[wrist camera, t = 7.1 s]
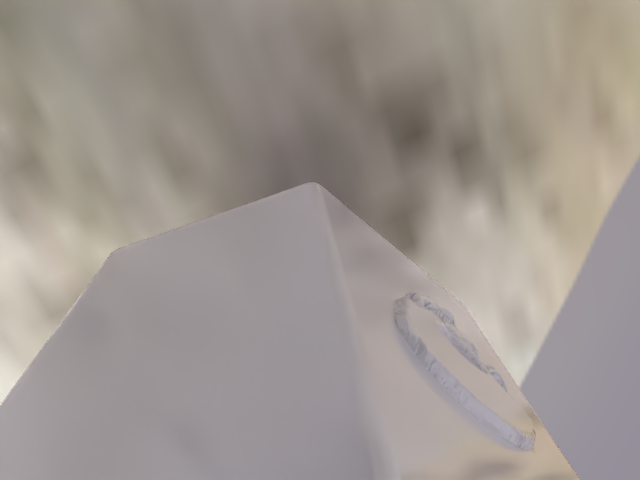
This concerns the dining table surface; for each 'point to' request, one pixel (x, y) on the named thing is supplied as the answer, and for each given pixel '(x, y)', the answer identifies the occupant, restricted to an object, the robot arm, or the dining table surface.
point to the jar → (270, 364)
